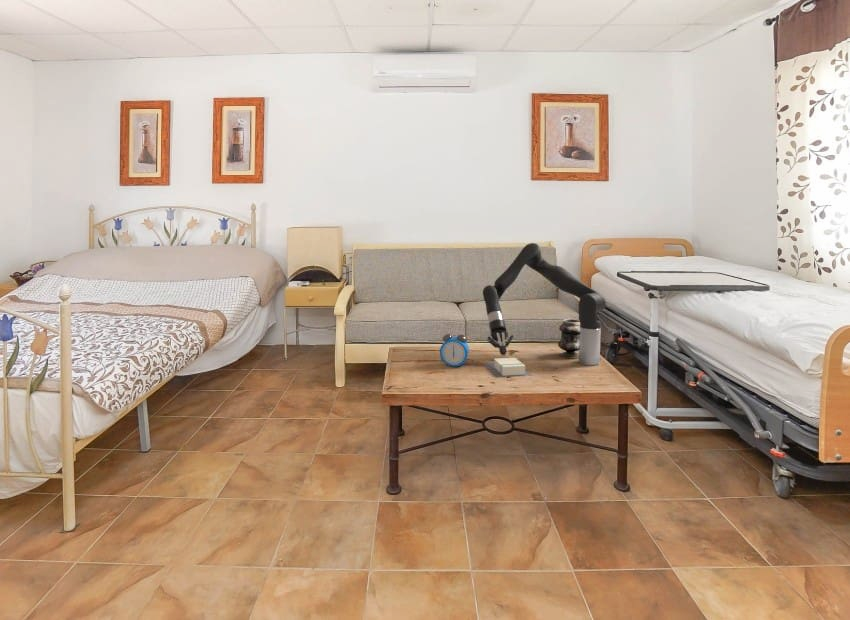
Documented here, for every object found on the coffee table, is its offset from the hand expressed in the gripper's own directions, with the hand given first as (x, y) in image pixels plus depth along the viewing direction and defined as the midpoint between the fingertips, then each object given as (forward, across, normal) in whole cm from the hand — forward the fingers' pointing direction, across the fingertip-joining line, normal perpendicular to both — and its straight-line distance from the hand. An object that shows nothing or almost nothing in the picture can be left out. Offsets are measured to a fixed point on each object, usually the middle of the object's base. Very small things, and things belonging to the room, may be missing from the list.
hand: (503, 354), depth 243 cm
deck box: (+3, 0, -2) cm, 4 cm away
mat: (+8, 0, -1) cm, 8 cm away
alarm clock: (0, +22, -9) cm, 24 cm away
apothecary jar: (-4, -38, -14) cm, 41 cm away
